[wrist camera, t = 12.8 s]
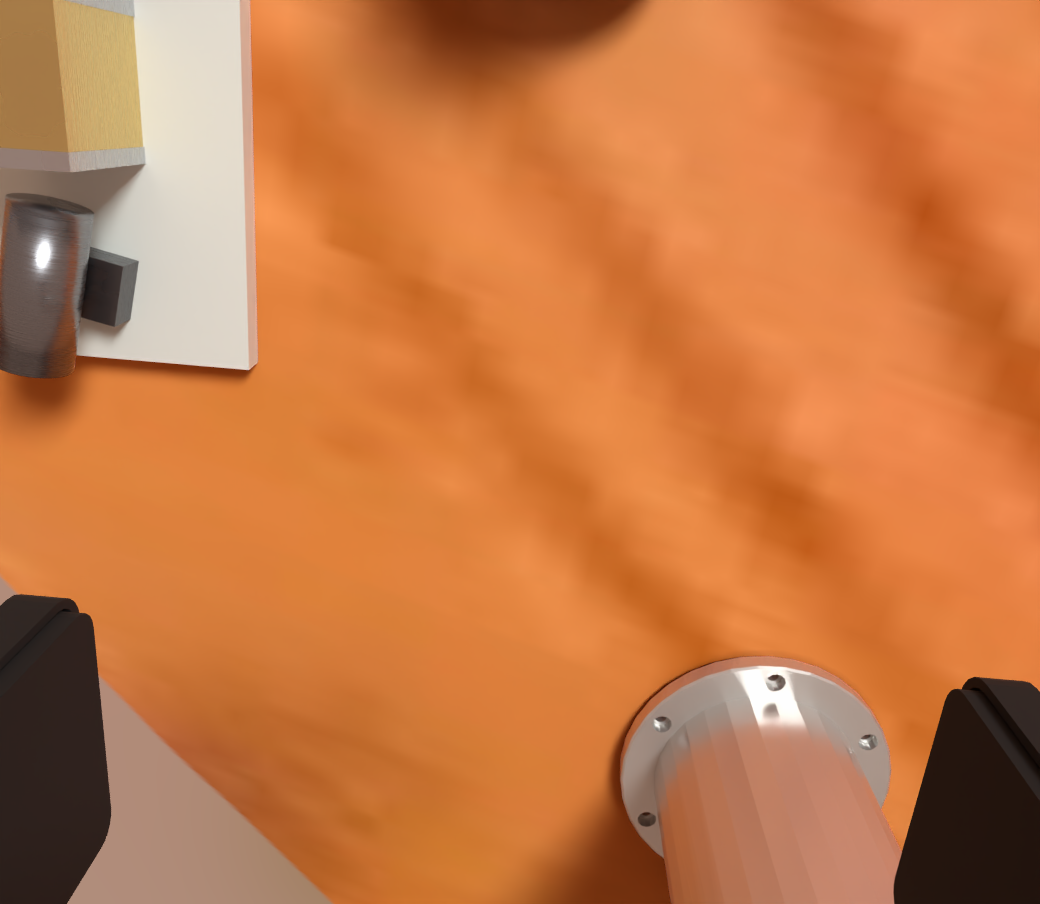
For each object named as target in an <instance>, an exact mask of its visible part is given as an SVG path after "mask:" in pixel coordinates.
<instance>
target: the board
mask: <svg viewBox="0 0 1040 904" xmlns="http://www.w3.org/2000/svg"><path fill="white" fill-rule="evenodd" d="M134 12H135V17H134V30H135V44H136V57H137V70H138V84H139V97H140V111H141V124H142V137H143V147H145V160H146V164H139V165H130V166H122V167H113V168H105V169H96V170H87V171H79V172H56V171H42V170H27V169H13V168H0V246H1V235H2V224H3V214H4V203H5V195H7V194H10V193H29V194H38V195H44V196H49V197H54V198H59V199H63V200H67V201H70V202H73V203H76V204H79V205H82V206H84V207H86V208H88V209H90V210H92V211H93V212H94V220H93V228H92V236H91V244H90V247H93V248H97V249H100V250H103V251H107V252H110V253H114V254H117V255H120V256H124V257H127V258H130V259H134V260H137V261H139V264H138V271H137V278H136V285H135V292H134V298H133V305H132V312H131V319H130V320H128V321H126V322H124V323H122V324H120V325H118V326H116V327H113V326H109V325H106V324H102V323H99V322H95V321H92V320H88V319H85V318H82V317H81V322H80V330H79V338H78V346H77V354H76V355H79V356H91V357H102V358H114V359H126V360H137V361H149V362H161V363H173V364H184V365H196V366H208V367H220V368H231V369H243V370H250V369H251V368H252V367H253V366H254V365H256V364H257V363H258V340H257V295H256V249H255V203H254V157H253V111H252V66H251V20H250V0H134Z"/></svg>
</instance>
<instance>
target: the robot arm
mask: <svg viewBox="0 0 1040 904" xmlns="http://www.w3.org/2000/svg"><path fill="white" fill-rule="evenodd" d="M890 776H891V763H890V751H889V748H888V745H887V742H886V739H885V736H884V733H883V730H882V728H881V727H880V725H879V723H878V721H877V719H876V717H875V716H874V714H873V712H872V710H871V709H870V708H869V706H868V705H867V704H866V703H865V701H864V700H863V699H862V698H861V696H860V695H859V694H858V693H857V692H856V691H855V690H854V689H852V688H851V687H850V686H849V685H847V684H846V683H845V682H844V681H842V680H841V679H840V678H838V677H836V676H834V675H833V674H831V673H829V672H827V671H825V670H823V669H821V668H819V667H817V666H814V665H810V664H807V663H804V662H801V661H797V660H794V659H787V658H779V657H771V656H754V657H738V658H733V659H728V660H723V661H718V662H714V663H712V664H709V665H706V666H704V667H701V668H698V669H696V670H693V671H690V672H689V673H687V674H685V675H683V676H682V677H680V678H678V679H677V680H675V681H673V682H671V683H670V684H668V685H667V686H666V687H665V688H663V689H662V690H661V691H660V692H659V693H658V694H656V695H655V696H654V697H653V698H652V699H651V700H650V701H649V702H648V703H647V704H646V706H645V707H644V708H643V709H642V711H641V712H640V713H639V714H638V716H637V717H636V718H635V720H634V722H633V724H632V726H631V728H630V730H629V732H628V734H627V736H626V738H625V742H624V746H623V750H622V753H621V757H620V783H621V790H622V799H623V802H624V805H625V808H626V811H627V814H628V817H629V819H630V821H631V823H632V824H633V826H634V828H635V829H636V831H637V833H638V834H639V836H640V837H641V838H642V839H643V840H644V841H645V842H646V843H647V844H648V846H649V847H650V848H651V849H652V850H653V851H654V852H655V853H657V854H658V855H660V856H661V857H662V858H664V861H665V868H666V874H667V881H668V888H669V894H670V901H671V904H1040V692H1039V691H1038V689H1037V688H1035V687H1034V686H1033V685H1032V684H1031V683H1028V682H1024V681H1014V680H1003V679H991V678H980V677H973V678H971V679H968V680H967V682H966V683H965V684H964V685H963V687H962V689H954V690H951V692H950V693H949V694H948V695H947V698H946V700H945V703H944V707H943V710H942V714H941V717H940V721H939V724H938V728H937V731H936V735H935V738H934V742H933V745H932V749H931V752H930V756H929V759H928V763H927V766H926V770H925V773H924V777H923V780H922V784H921V787H920V791H919V794H918V798H917V801H916V805H915V808H914V812H913V816H912V819H911V823H910V826H909V830H908V833H907V837H906V840H905V844H904V847H903V851H902V852H901V849H900V847H899V845H898V843H897V841H896V839H895V837H894V835H893V833H892V831H891V828H890V826H889V824H888V822H887V820H886V818H885V816H884V814H883V812H882V810H881V809H882V806H883V804H884V801H885V799H886V796H887V794H888V790H889V783H890ZM110 818H111V804H110V793H109V783H108V772H107V761H106V751H105V741H104V730H103V720H102V710H101V699H100V689H99V678H98V668H97V657H96V647H95V636H94V627H93V622H92V619H91V617H90V616H89V615H88V614H86V613H79V610H78V607H77V605H76V603H75V602H74V601H73V600H71V599H68V598H57V597H45V596H34V595H22V594H20V595H14V596H12V597H10V598H9V599H7V600H6V601H5V602H4V603H3V604H2V605H1V606H0V904H67V902H68V901H69V899H70V898H71V896H72V894H73V893H74V891H75V890H76V888H77V886H78V885H79V883H80V881H81V880H82V878H83V877H84V875H85V873H86V872H87V870H88V868H89V867H90V865H91V864H92V862H93V860H94V859H95V857H96V855H97V854H98V852H99V851H100V849H101V847H102V845H103V843H104V841H105V839H106V836H107V833H108V829H109V825H110Z"/></svg>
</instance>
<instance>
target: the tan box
mask: <svg viewBox="0 0 1040 904" xmlns="http://www.w3.org/2000/svg"><path fill="white" fill-rule="evenodd" d="M134 17H135V12H134V0H0V168H13V169H27V170H42V171H56V172H79V171H87V170H96V169H105V168H113V167H122V166H130V165H139V164H146V160H145V147H143V137H142V124H141V111H140V97H139V84H138V70H137V57H136V44H135V30H134Z"/></svg>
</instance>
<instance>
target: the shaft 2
mask: <svg viewBox="0 0 1040 904" xmlns="http://www.w3.org/2000/svg"><path fill="white" fill-rule="evenodd" d="M93 220H94V212H93V211H92V210H90V209H88V208H86V207H84V206H82V205H79V204H76V203H73V202H70V201H67V200H63V199H59V198H54V197H49V196H44V195H38V194H29V193H10V194H7V195H5V203H4V214H3V224H2V235H1V246H0V369H1V370H3V371H6V372H9V373H12V374H16V375H20V376H26V377H33V378H59V377H64V376H68V375H70V374H71V373H73V372H74V370H75V362H76V354H77V346H78V338H79V330H80V322H81V317H82V318H85V319H88V320H92V321H95V322H99V323H102V324H106V325H109V326H113V327H116V326H118V325H120V324H122V323H124V322H126V321H128V320H130V319H131V312H132V305H133V298H134V292H135V285H136V278H137V271H138V264H139V261H137V260H134V259H130V258H127V257H124V256H120V255H117V254H114V253H110V252H107V251H103V250H100V249H97V248H93V247H90V244H91V236H92V228H93Z"/></svg>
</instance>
